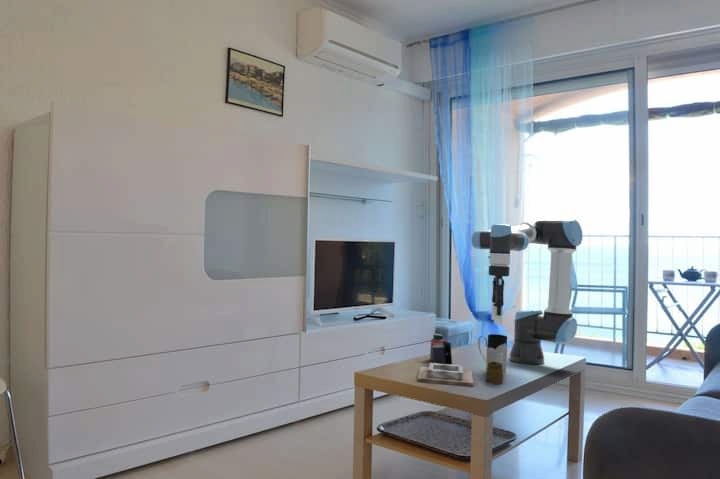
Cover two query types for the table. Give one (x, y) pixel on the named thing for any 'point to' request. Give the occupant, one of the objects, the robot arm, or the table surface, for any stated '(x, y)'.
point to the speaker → (442, 353)
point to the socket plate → (445, 374)
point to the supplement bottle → (436, 342)
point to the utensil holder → (494, 372)
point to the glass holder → (496, 350)
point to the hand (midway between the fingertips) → (496, 322)
